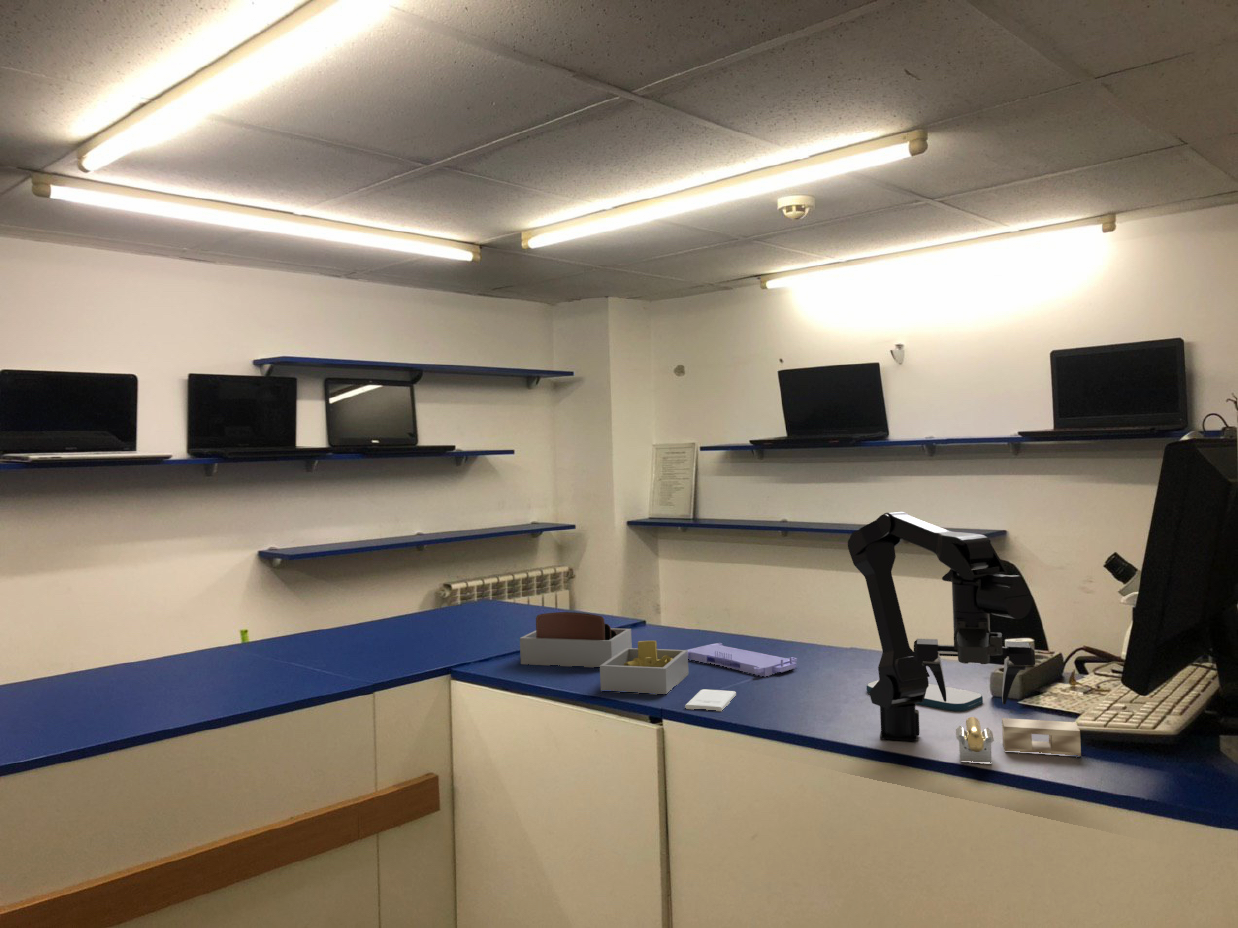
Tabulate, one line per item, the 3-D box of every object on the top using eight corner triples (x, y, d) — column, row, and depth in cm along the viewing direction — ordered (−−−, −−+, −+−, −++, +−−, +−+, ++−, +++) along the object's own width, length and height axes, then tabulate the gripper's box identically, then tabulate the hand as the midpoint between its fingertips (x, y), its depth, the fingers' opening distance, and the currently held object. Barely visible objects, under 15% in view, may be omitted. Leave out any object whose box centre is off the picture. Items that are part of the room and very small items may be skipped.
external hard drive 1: (736, 698, 200) (722, 714, 188) (701, 696, 203) (684, 711, 191) (736, 691, 200) (721, 706, 188) (700, 689, 203) (684, 703, 191)
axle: (967, 750, 149) (969, 736, 149) (964, 728, 160) (966, 715, 160) (982, 753, 148) (984, 739, 148) (979, 731, 160) (981, 718, 159)
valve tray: (600, 691, 208) (599, 665, 208) (627, 671, 226) (626, 648, 226) (666, 695, 202) (665, 668, 202) (688, 674, 220) (687, 650, 220)
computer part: (764, 681, 212) (804, 670, 222) (763, 664, 212) (804, 653, 222) (678, 662, 236) (718, 652, 245) (678, 646, 236) (717, 636, 245)
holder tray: (520, 664, 238) (519, 638, 238) (545, 650, 254) (544, 626, 253) (612, 668, 230) (611, 641, 230) (632, 654, 245) (631, 629, 245)
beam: (1004, 752, 157) (1003, 726, 157) (1002, 743, 161) (1001, 718, 161) (1080, 757, 153) (1080, 731, 153) (1076, 748, 157) (1075, 722, 157)
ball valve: (621, 685, 216) (640, 689, 207) (620, 642, 217) (638, 643, 208) (667, 681, 221) (687, 684, 212) (665, 639, 223) (685, 640, 214)
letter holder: (605, 668, 231) (603, 613, 231) (536, 664, 238) (534, 611, 238) (618, 659, 241) (616, 607, 241) (551, 656, 248) (549, 605, 248)
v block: (994, 765, 151) (993, 736, 151) (957, 762, 153) (956, 734, 153) (992, 755, 156) (992, 727, 155) (956, 753, 158) (955, 725, 157)
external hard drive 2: (860, 694, 198) (860, 685, 198) (890, 684, 206) (889, 675, 206) (960, 715, 180) (960, 706, 180) (988, 703, 188) (988, 694, 188)
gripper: (911, 617, 146) (914, 713, 146) (1036, 620, 139) (1040, 720, 139) (912, 606, 156) (916, 695, 156) (1029, 608, 150) (1033, 700, 150)
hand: (974, 702), depth 150 cm, fingers open, 9 cm apart
